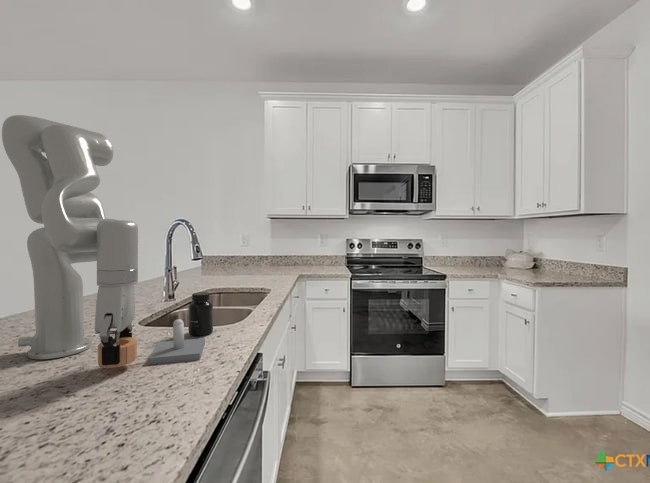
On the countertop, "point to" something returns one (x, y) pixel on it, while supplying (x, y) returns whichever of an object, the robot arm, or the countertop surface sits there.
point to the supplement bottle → (200, 315)
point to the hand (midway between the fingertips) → (117, 356)
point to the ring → (122, 352)
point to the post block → (177, 347)
